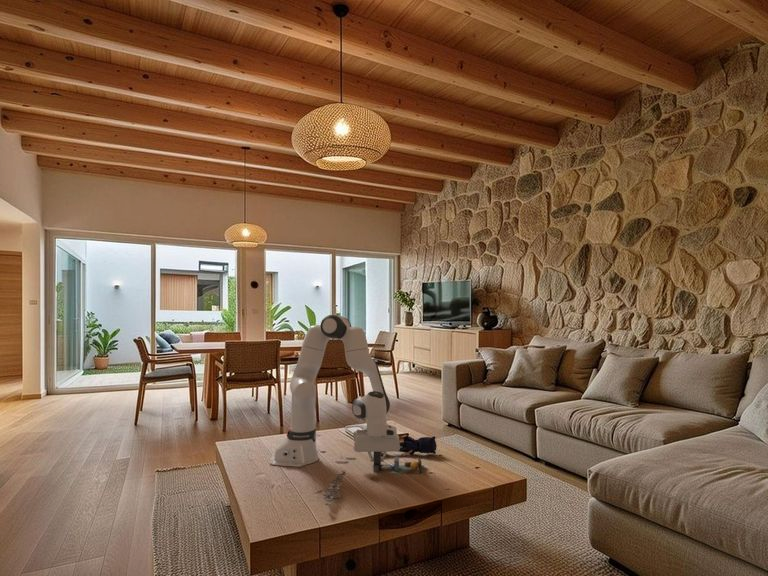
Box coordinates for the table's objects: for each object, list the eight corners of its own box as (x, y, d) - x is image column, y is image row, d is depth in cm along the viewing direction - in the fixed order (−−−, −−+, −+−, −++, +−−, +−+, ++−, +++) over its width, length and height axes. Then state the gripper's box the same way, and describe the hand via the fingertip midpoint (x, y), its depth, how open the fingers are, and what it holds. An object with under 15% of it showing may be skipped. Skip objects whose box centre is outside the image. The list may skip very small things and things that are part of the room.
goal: (405, 473, 194) (405, 461, 195) (404, 465, 203) (404, 454, 204) (421, 473, 194) (421, 461, 194) (420, 465, 203) (420, 454, 203)
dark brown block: (373, 472, 196) (373, 465, 196) (374, 467, 202) (374, 460, 203) (378, 472, 196) (378, 465, 196) (379, 467, 202) (379, 460, 202)
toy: (375, 458, 221) (437, 457, 218) (372, 455, 213) (437, 453, 210) (375, 437, 226) (436, 436, 223) (373, 433, 218) (436, 432, 215)
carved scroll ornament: (318, 516, 158) (317, 504, 158) (337, 480, 188) (336, 470, 188) (331, 516, 158) (331, 504, 158) (348, 480, 188) (347, 470, 188)
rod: (372, 471, 197) (372, 452, 197) (373, 467, 202) (372, 449, 202) (399, 471, 197) (398, 452, 197) (399, 467, 202) (398, 448, 202)
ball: (420, 467, 197) (413, 472, 197) (419, 464, 201) (413, 469, 201) (415, 461, 197) (408, 466, 197) (415, 458, 201) (408, 463, 201)
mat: (392, 474, 194) (392, 473, 194) (392, 465, 204) (392, 465, 204) (425, 474, 194) (425, 473, 194) (423, 465, 204) (423, 465, 204)
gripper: (352, 431, 197) (352, 464, 197) (399, 431, 196) (400, 463, 196) (353, 427, 203) (354, 459, 203) (399, 427, 203) (400, 458, 202)
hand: (377, 461), depth 199 cm, fingers closed on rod, 3 cm apart
